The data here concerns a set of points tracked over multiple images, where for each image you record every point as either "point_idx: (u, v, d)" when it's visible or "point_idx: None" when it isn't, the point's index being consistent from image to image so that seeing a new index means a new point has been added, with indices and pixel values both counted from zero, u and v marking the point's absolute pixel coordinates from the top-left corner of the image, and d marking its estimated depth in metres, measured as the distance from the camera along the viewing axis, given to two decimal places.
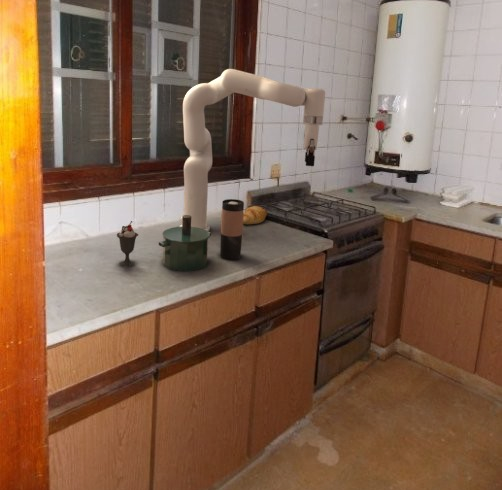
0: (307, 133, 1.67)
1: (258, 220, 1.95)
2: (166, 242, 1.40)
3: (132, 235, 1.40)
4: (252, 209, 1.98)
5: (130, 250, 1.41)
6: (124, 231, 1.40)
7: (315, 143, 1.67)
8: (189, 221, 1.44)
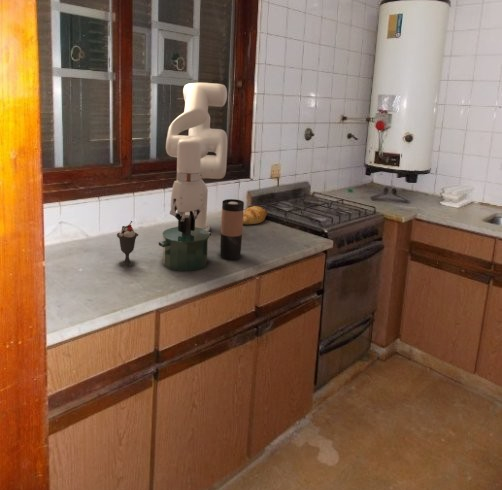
0: (172, 191, 1.41)
1: (258, 220, 1.95)
2: (166, 242, 1.40)
3: (132, 235, 1.40)
4: (252, 209, 1.98)
5: (130, 250, 1.41)
6: (124, 231, 1.40)
7: (177, 204, 1.40)
8: (189, 221, 1.44)
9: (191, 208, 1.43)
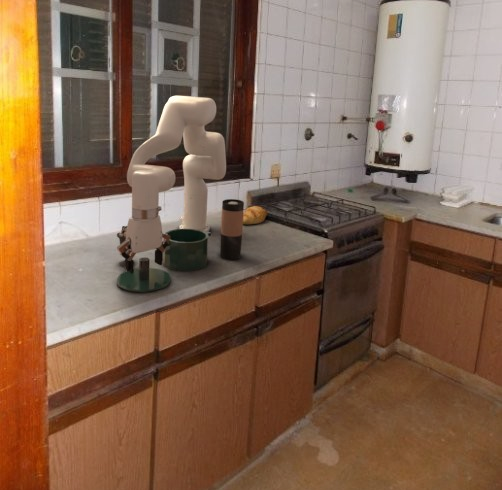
0: (127, 229, 1.26)
1: (258, 220, 1.95)
2: None
3: None
4: (252, 209, 1.98)
5: None
6: (124, 231, 1.40)
7: (132, 244, 1.24)
8: (146, 265, 1.29)
9: (149, 247, 1.28)
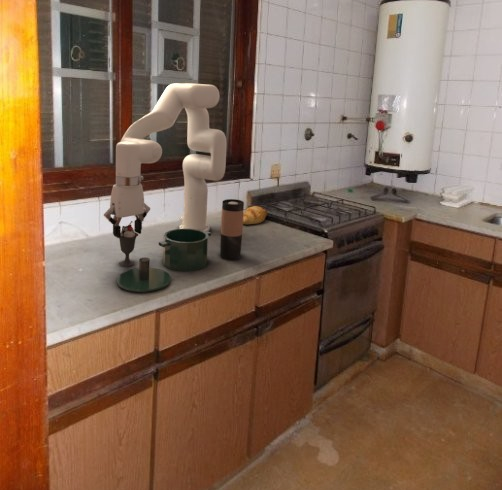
0: (111, 195, 1.37)
1: (258, 220, 1.95)
2: (166, 242, 1.40)
3: (132, 235, 1.40)
4: (252, 209, 1.98)
5: (130, 250, 1.41)
6: (124, 231, 1.40)
7: (115, 209, 1.35)
8: (146, 265, 1.29)
9: (131, 213, 1.39)
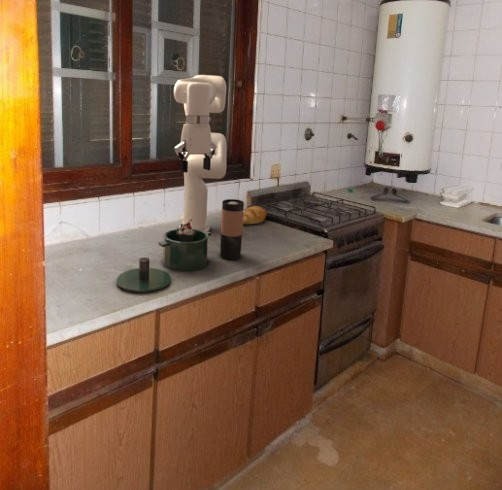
0: (182, 134, 1.45)
1: (258, 220, 1.95)
2: (166, 242, 1.40)
3: (191, 233, 1.44)
4: (252, 209, 1.98)
5: None
6: (184, 229, 1.44)
7: (187, 146, 1.43)
8: (146, 265, 1.29)
9: (200, 151, 1.47)
